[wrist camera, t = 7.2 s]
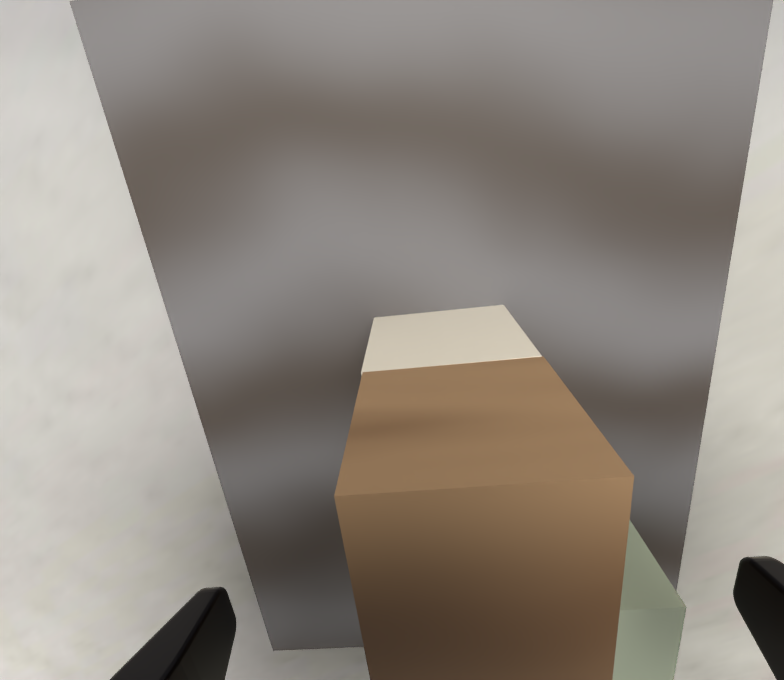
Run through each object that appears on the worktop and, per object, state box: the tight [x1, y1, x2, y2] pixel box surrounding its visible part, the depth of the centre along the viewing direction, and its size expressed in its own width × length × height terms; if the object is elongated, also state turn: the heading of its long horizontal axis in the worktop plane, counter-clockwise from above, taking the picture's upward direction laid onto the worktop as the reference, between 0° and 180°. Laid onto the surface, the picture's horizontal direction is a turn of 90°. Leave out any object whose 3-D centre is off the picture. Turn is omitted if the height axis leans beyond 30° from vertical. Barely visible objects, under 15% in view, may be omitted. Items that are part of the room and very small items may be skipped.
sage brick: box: [612, 520, 686, 680], centre depth 15 cm, size 6×4×4 cm, turn 7°
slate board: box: [70, 0, 773, 651], centre depth 15 cm, size 24×17×1 cm
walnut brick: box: [334, 356, 634, 680], centre depth 9 cm, size 6×4×4 cm, turn 6°
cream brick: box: [361, 305, 542, 376], centre depth 12 cm, size 6×4×4 cm, turn 7°
